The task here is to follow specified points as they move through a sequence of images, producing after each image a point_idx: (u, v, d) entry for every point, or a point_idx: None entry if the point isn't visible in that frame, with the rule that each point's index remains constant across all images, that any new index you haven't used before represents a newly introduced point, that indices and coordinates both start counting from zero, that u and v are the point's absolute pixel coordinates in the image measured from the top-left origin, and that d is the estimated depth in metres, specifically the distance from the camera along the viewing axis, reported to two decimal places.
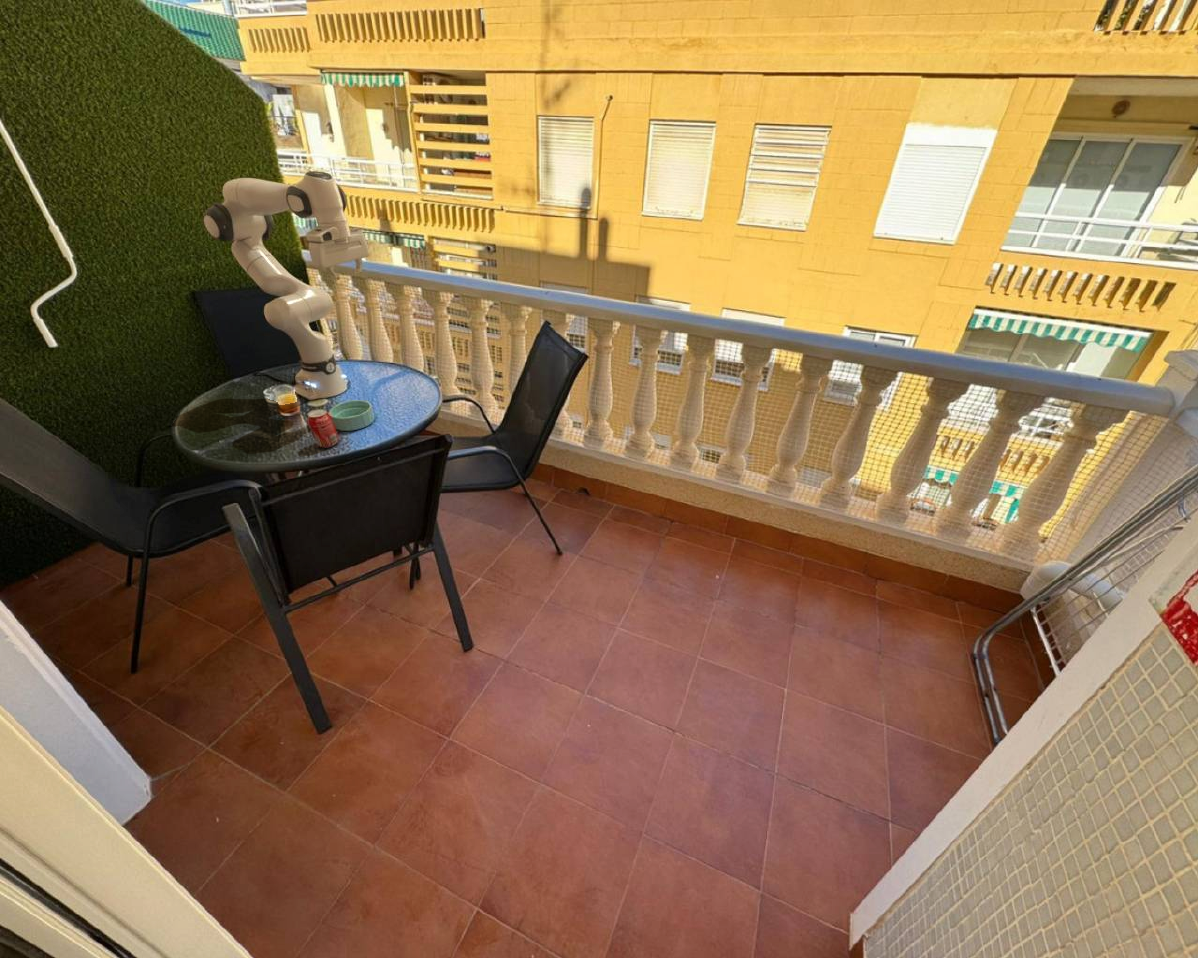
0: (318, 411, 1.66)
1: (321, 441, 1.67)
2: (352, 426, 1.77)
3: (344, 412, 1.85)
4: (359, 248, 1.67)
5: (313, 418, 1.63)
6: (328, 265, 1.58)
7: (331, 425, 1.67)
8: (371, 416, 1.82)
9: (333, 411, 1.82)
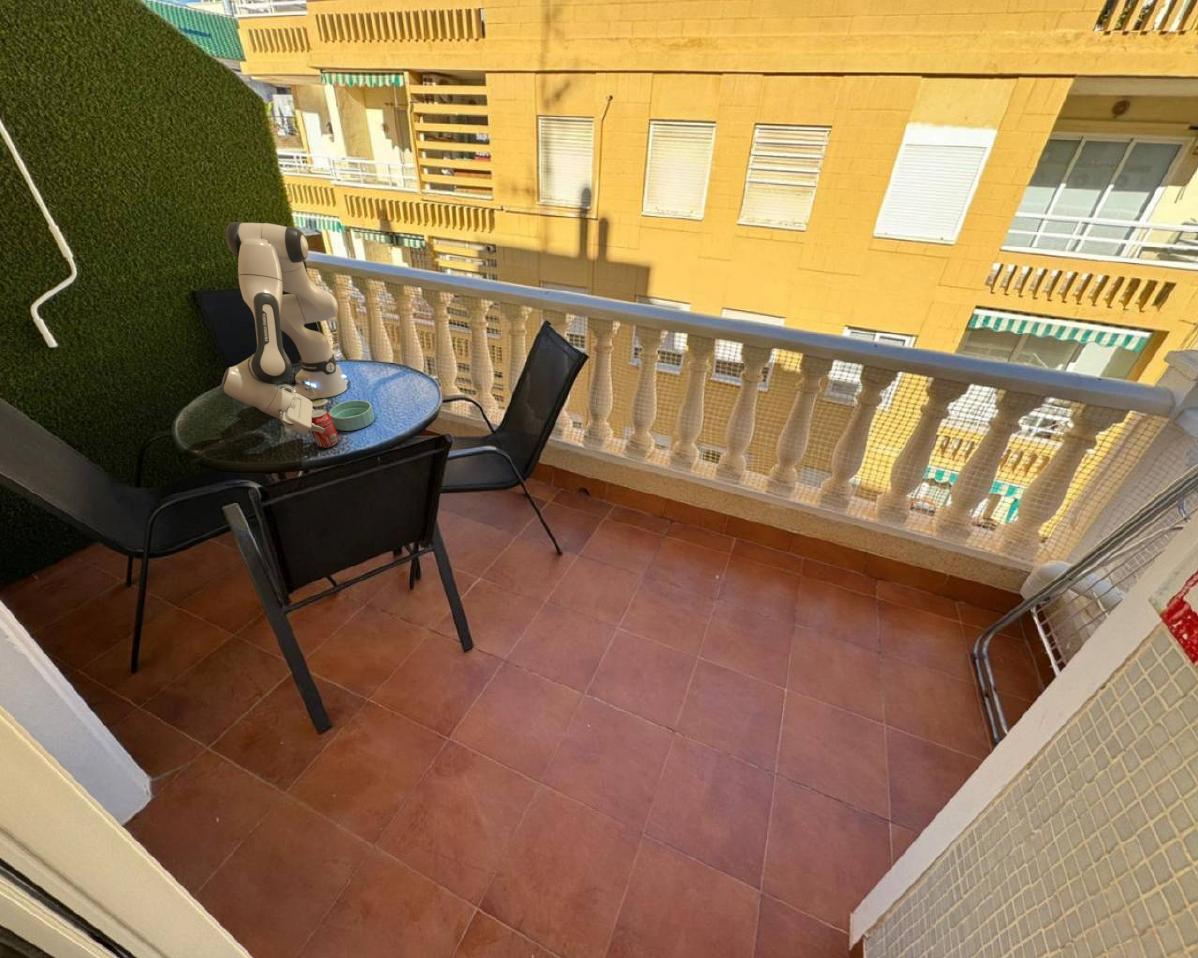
0: (318, 411, 1.66)
1: (322, 441, 1.67)
2: (352, 426, 1.77)
3: (344, 412, 1.85)
4: None
5: (313, 418, 1.63)
6: None
7: (331, 425, 1.67)
8: (371, 416, 1.82)
9: (333, 411, 1.82)
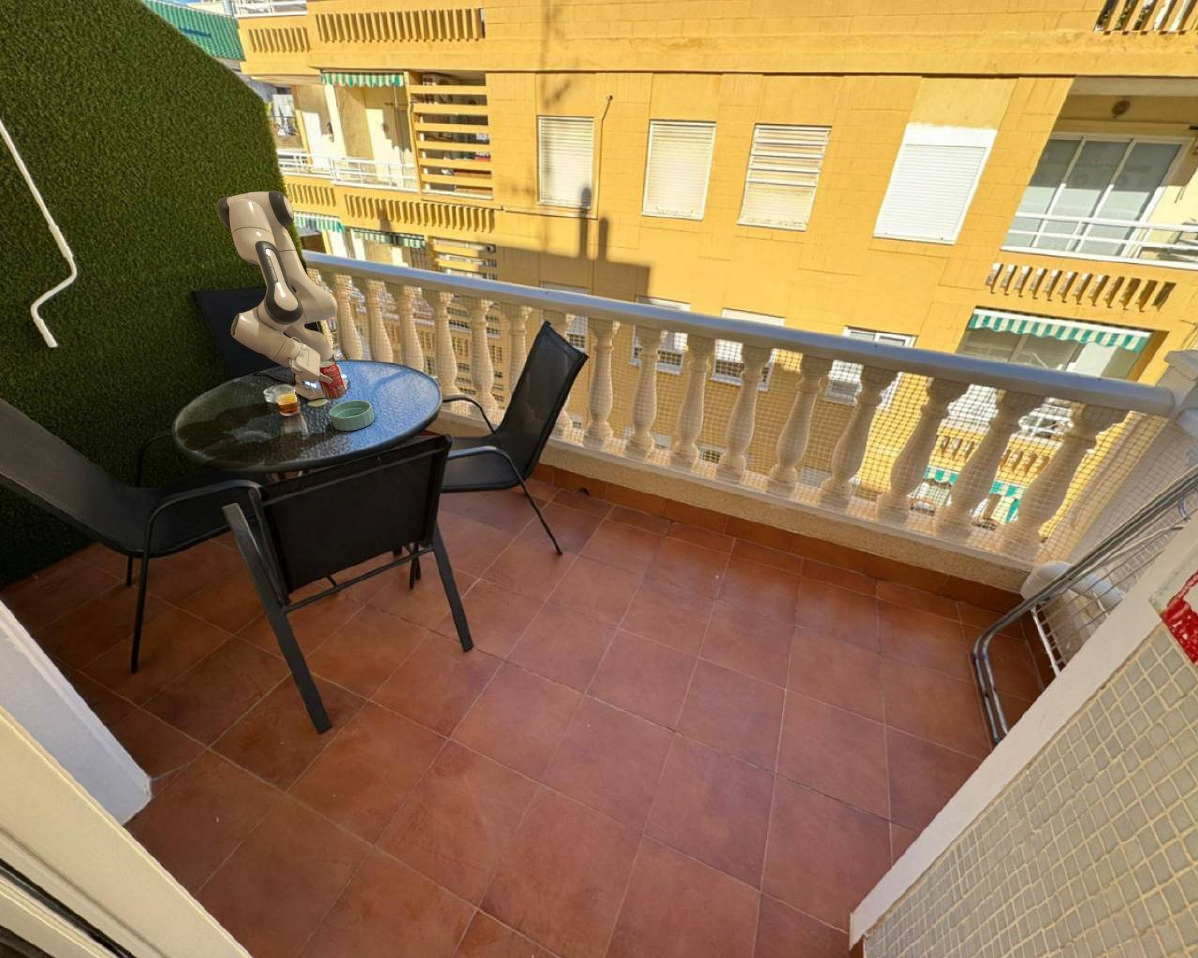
0: (326, 362, 1.67)
1: (329, 392, 1.68)
2: (352, 426, 1.77)
3: (344, 412, 1.85)
4: None
5: (321, 368, 1.64)
6: None
7: (339, 376, 1.68)
8: (371, 416, 1.82)
9: (333, 411, 1.82)
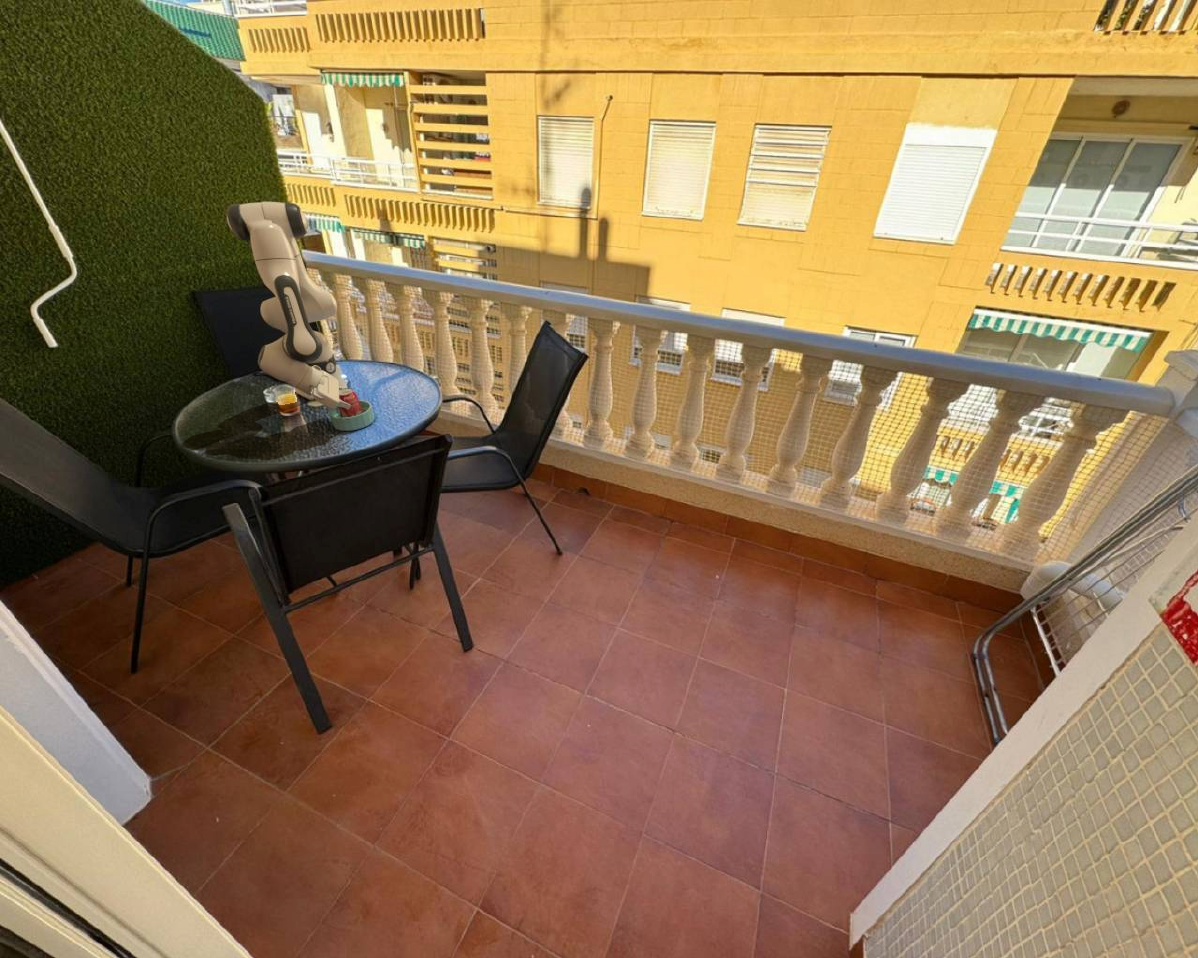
0: (345, 390, 1.78)
1: None
2: (352, 426, 1.77)
3: None
4: None
5: (341, 396, 1.75)
6: None
7: (357, 403, 1.79)
8: (371, 416, 1.82)
9: (333, 411, 1.82)
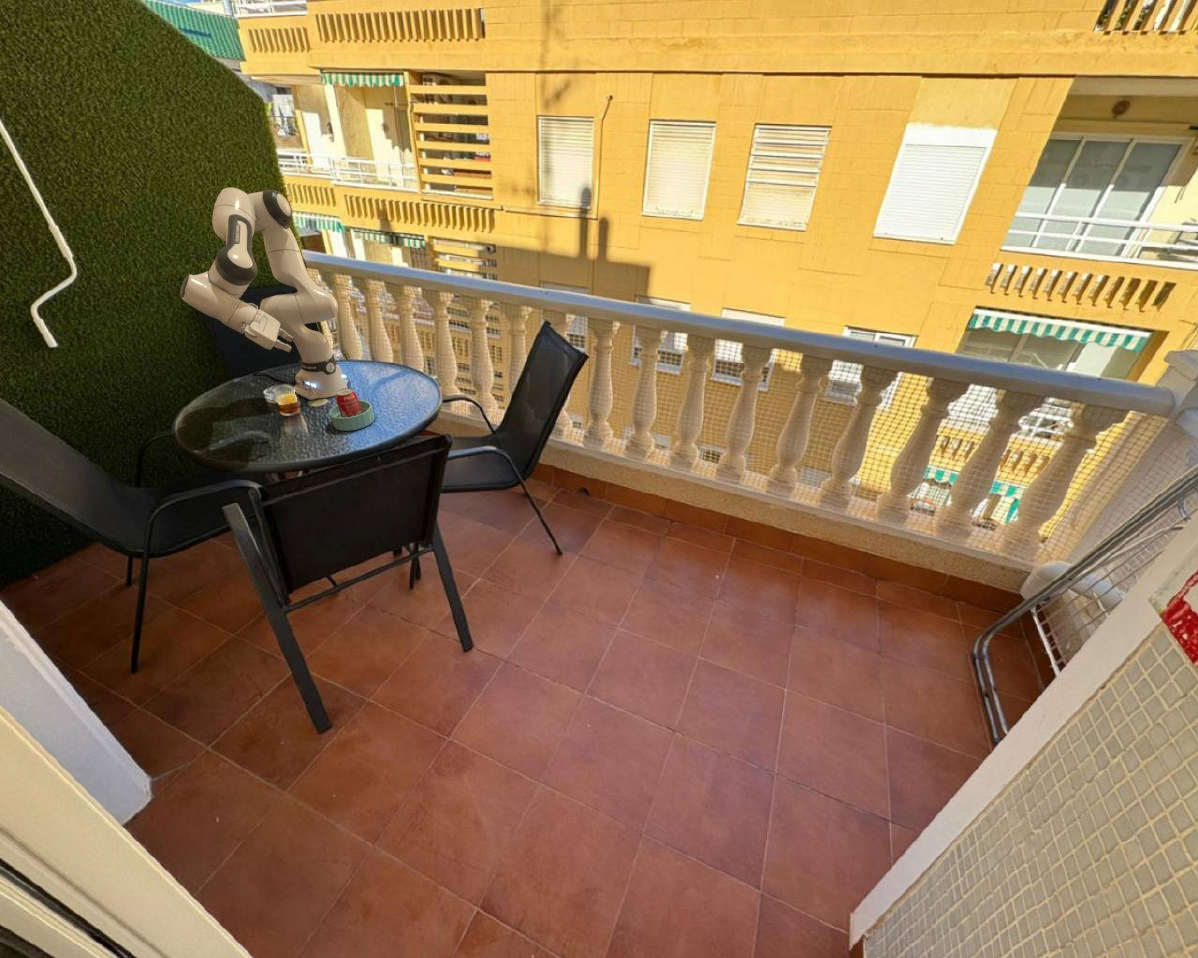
0: (345, 390, 1.78)
1: None
2: (352, 426, 1.77)
3: None
4: None
5: (341, 396, 1.75)
6: None
7: (357, 403, 1.79)
8: (371, 416, 1.82)
9: (333, 411, 1.82)
